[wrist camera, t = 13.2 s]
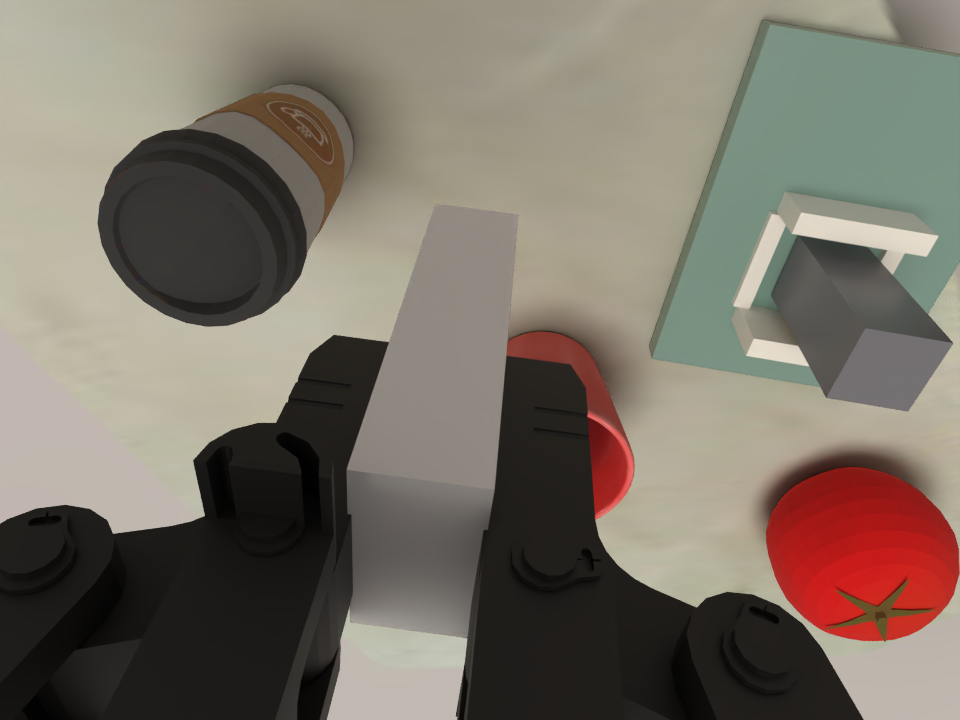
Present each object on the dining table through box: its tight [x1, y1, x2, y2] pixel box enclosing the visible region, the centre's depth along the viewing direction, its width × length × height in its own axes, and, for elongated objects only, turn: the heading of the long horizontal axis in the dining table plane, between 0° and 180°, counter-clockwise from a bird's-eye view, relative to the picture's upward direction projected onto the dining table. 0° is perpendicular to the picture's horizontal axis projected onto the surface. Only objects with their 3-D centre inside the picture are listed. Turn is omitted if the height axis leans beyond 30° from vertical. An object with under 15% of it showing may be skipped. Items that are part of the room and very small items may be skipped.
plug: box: [771, 235, 953, 411], centre depth 35 cm, size 5×4×10 cm
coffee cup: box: [98, 84, 354, 327], centre depth 33 cm, size 8×8×15 cm
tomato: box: [766, 467, 960, 641], centre depth 47 cm, size 12×12×10 cm
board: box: [649, 20, 960, 387], centre depth 37 cm, size 20×15×6 cm
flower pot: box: [506, 332, 635, 520], centre depth 44 cm, size 11×11×10 cm
